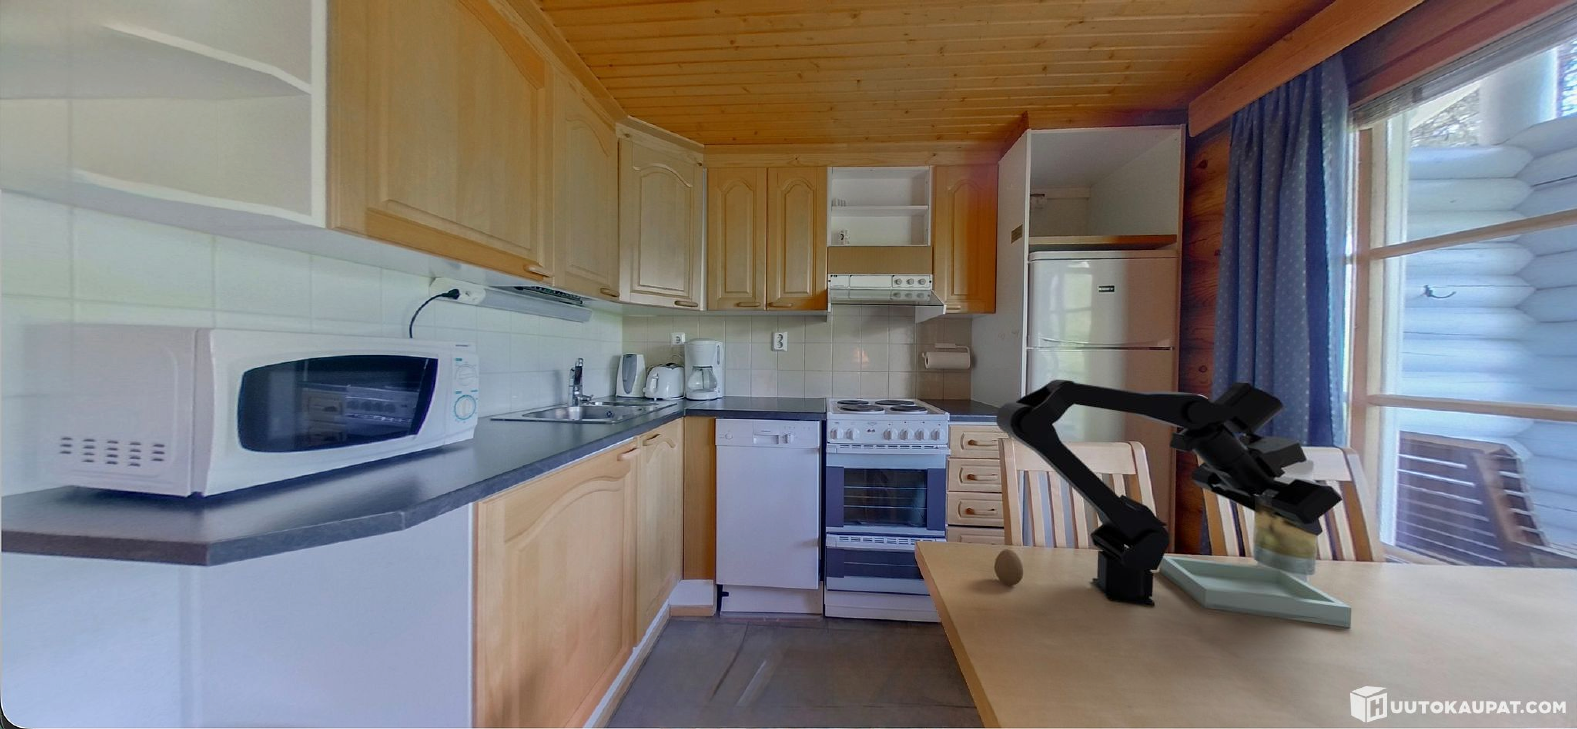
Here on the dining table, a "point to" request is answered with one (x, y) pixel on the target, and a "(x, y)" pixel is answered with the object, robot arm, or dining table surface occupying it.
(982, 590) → the dining table surface
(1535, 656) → the dining table surface
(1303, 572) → the tin can
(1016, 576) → the egg
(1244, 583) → the pale green tray
